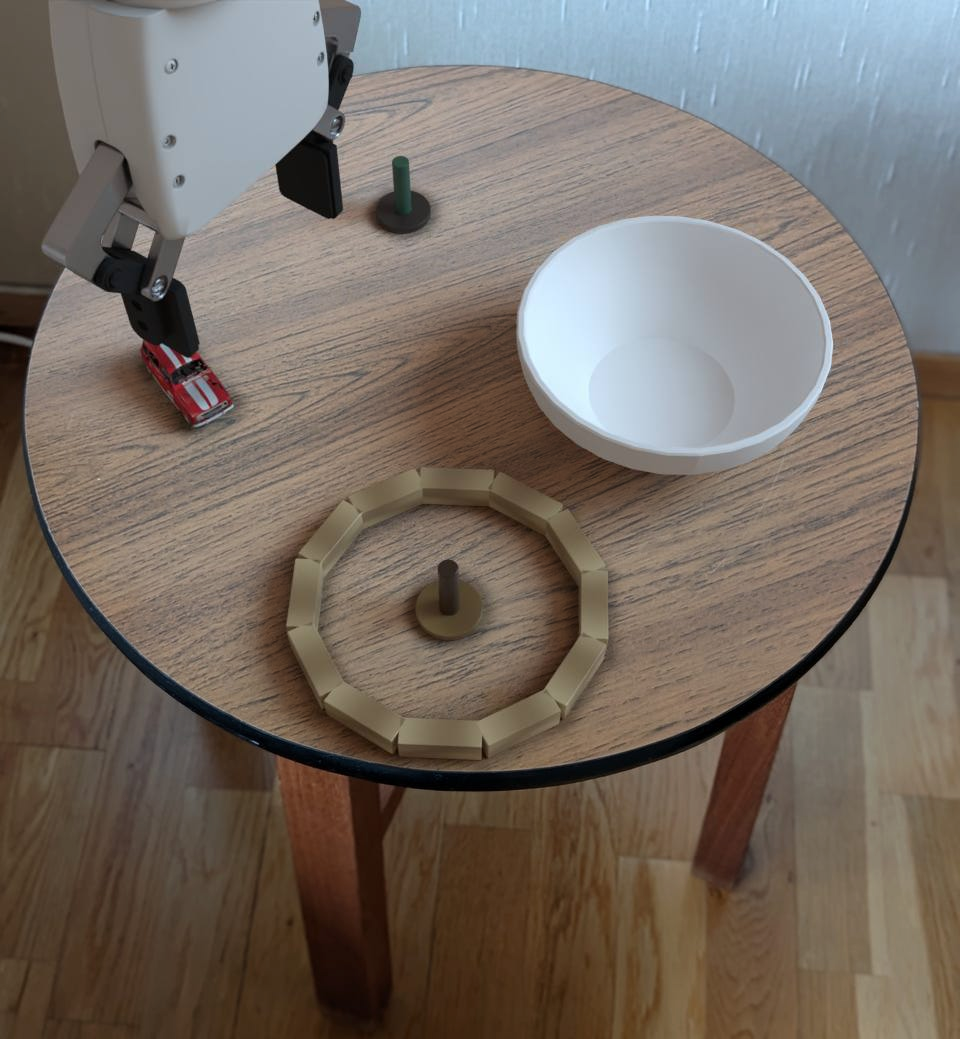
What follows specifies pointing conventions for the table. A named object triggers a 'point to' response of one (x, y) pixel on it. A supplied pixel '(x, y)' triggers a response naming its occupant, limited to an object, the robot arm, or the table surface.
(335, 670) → the ring
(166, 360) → the toy car
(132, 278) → the robot arm
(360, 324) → the table surface
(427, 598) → the walnut peg
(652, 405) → the bowl
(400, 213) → the green peg
